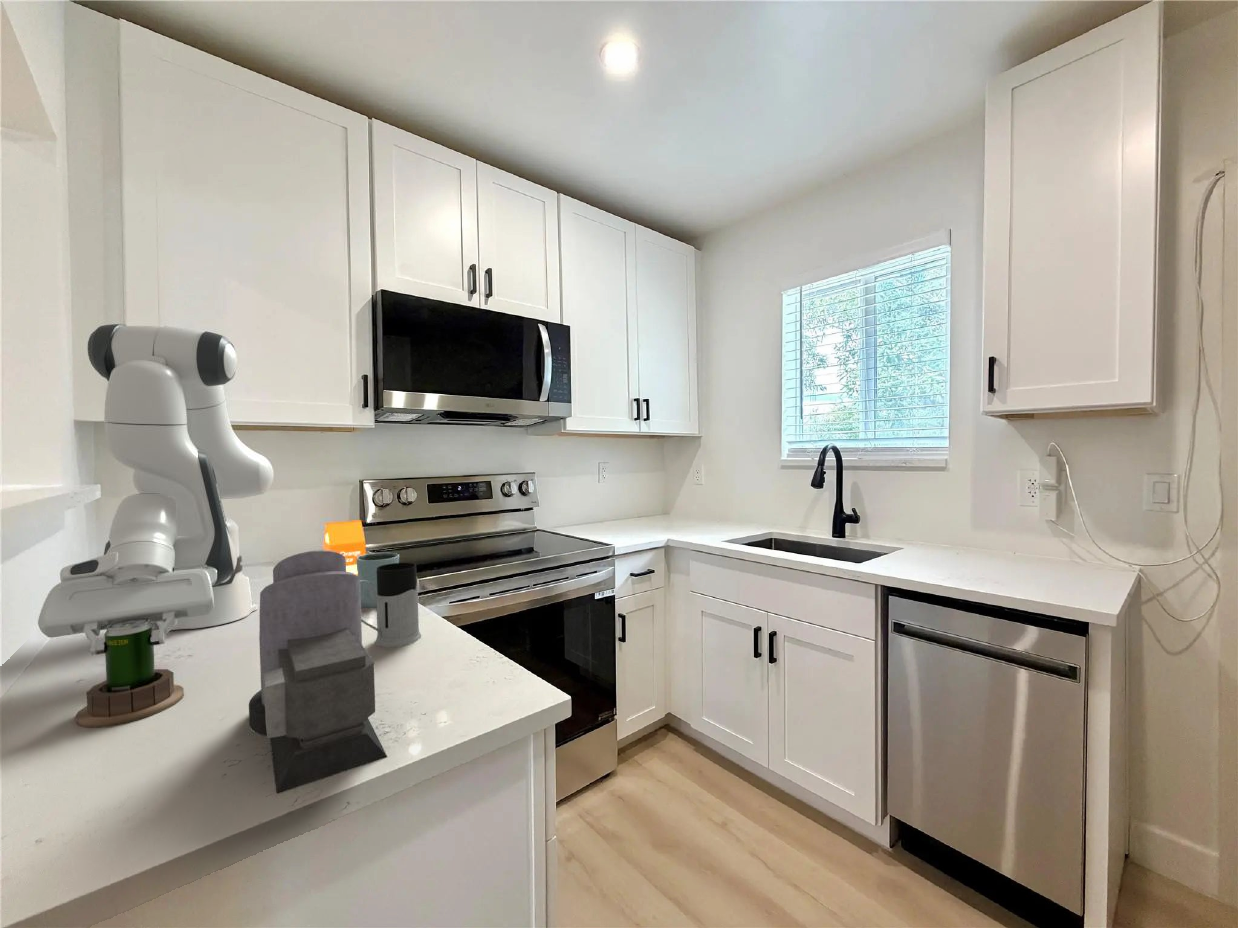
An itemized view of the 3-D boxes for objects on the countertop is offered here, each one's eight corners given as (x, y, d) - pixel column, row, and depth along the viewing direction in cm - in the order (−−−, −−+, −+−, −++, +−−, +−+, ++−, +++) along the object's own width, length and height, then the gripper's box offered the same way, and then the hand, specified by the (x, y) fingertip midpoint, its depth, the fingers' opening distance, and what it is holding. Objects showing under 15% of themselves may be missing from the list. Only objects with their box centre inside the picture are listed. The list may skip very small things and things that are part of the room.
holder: (430, 636, 108) (428, 564, 108) (364, 659, 97) (361, 579, 96) (405, 628, 113) (403, 560, 113) (339, 650, 102) (337, 573, 101)
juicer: (248, 700, 81) (243, 544, 81) (361, 673, 91) (357, 533, 90) (252, 803, 57) (245, 581, 57) (405, 751, 67) (400, 561, 66)
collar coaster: (65, 713, 78) (64, 688, 78) (166, 682, 88) (166, 660, 88) (90, 735, 71) (89, 708, 71) (196, 699, 82) (196, 675, 82)
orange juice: (367, 594, 142) (365, 521, 141) (330, 600, 136) (328, 524, 136) (359, 588, 148) (357, 518, 147) (324, 594, 142) (322, 521, 142)
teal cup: (370, 596, 140) (369, 552, 139) (407, 596, 139) (406, 551, 139) (348, 608, 129) (347, 560, 129) (388, 608, 129) (387, 559, 129)
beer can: (147, 704, 79) (144, 625, 78) (100, 712, 76) (97, 631, 76) (160, 690, 83) (158, 615, 83) (116, 697, 81) (113, 620, 81)
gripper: (219, 573, 94) (216, 643, 86) (57, 592, 83) (37, 674, 75) (216, 552, 91) (213, 623, 83) (46, 569, 79) (24, 652, 71)
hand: (128, 647), depth 79 cm, fingers closed on beer can, 5 cm apart
